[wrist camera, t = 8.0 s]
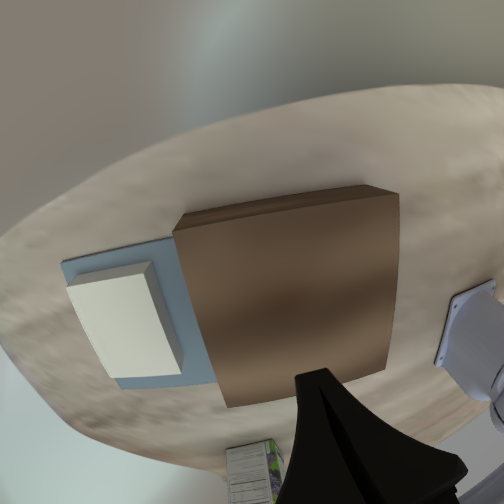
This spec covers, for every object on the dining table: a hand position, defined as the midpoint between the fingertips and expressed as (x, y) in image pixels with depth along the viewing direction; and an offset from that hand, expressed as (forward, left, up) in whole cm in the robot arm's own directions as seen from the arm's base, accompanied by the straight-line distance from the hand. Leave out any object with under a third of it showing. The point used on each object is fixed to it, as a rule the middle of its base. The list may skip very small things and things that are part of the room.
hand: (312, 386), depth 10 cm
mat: (-1, +10, -9) cm, 14 cm away
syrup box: (-22, +5, -9) cm, 25 cm away
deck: (0, -1, -9) cm, 9 cm away
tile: (0, +11, -7) cm, 13 cm away
